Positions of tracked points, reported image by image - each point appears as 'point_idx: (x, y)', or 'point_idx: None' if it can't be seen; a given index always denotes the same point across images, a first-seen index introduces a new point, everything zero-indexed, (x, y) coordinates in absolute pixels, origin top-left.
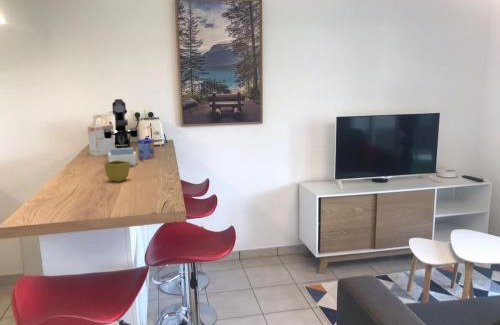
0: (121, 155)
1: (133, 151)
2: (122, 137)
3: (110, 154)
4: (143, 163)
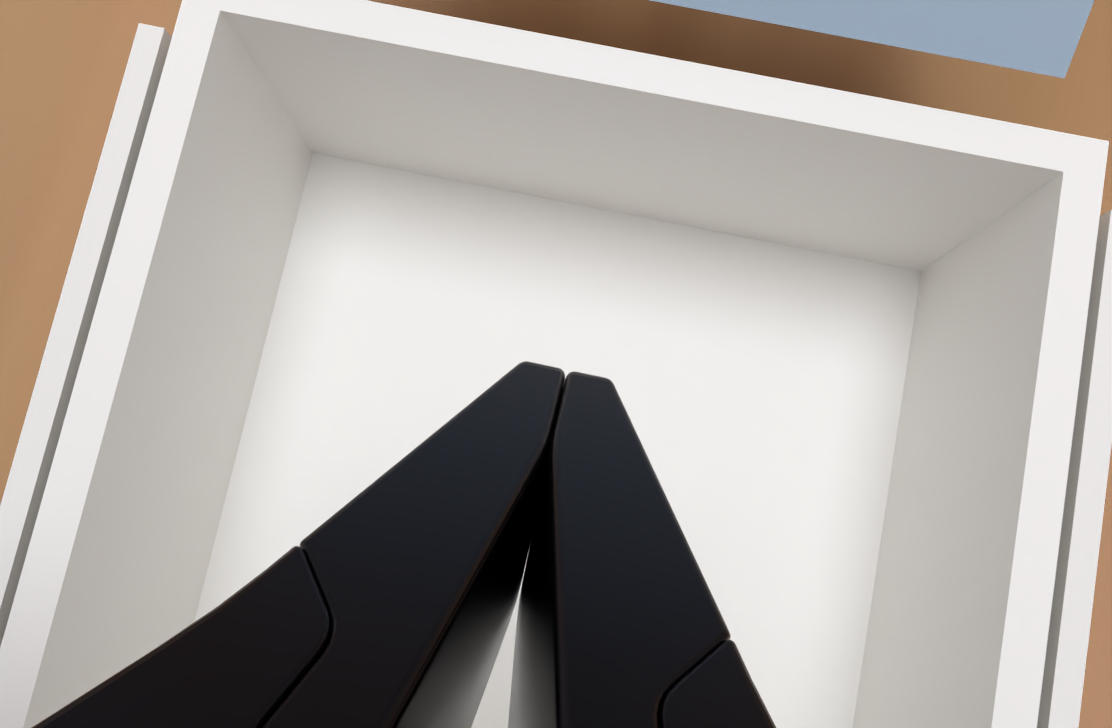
0: (670, 71)
1: (52, 604)
2: (354, 661)
3: (1042, 338)
4: (48, 260)
